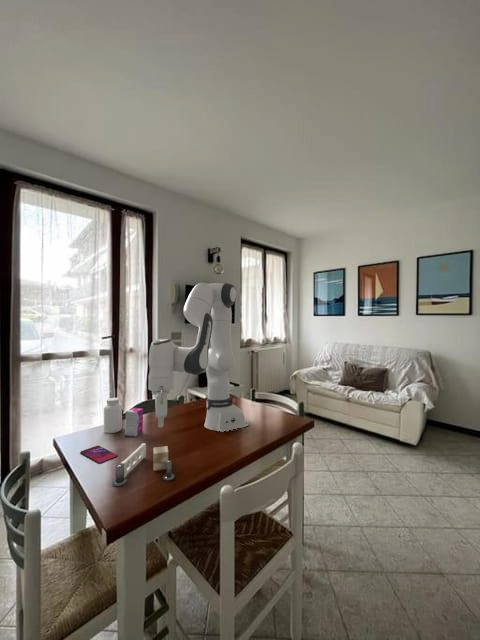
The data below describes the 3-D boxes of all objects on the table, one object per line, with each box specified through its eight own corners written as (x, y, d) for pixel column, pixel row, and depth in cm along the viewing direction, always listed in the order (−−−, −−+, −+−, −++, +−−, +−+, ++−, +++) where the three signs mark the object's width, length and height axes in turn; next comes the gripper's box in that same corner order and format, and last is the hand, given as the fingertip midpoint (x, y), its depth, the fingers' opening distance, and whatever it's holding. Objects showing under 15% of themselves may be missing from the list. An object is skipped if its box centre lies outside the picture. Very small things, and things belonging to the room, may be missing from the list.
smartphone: (99, 463, 103) (79, 451, 112) (99, 465, 103) (79, 454, 112) (118, 455, 109) (98, 444, 118) (118, 457, 109) (98, 447, 118)
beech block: (167, 462, 105) (167, 445, 105) (168, 468, 100) (168, 451, 100) (153, 463, 104) (153, 447, 104) (153, 470, 99) (153, 453, 99)
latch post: (174, 474, 97) (174, 458, 97) (174, 479, 93) (174, 463, 93) (163, 475, 96) (163, 459, 96) (163, 481, 92) (163, 464, 92)
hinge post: (127, 477, 94) (127, 461, 94) (126, 485, 90) (126, 468, 90) (113, 480, 93) (113, 463, 93) (111, 487, 89) (111, 470, 89)
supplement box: (136, 437, 127) (136, 412, 127) (124, 436, 128) (124, 411, 128) (143, 432, 133) (143, 408, 133) (131, 431, 134) (132, 407, 134)
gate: (124, 477, 93) (124, 463, 93) (120, 477, 93) (120, 463, 93) (145, 456, 108) (145, 443, 108) (142, 455, 108) (142, 443, 108)
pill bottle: (107, 427, 139) (107, 397, 139) (124, 427, 139) (124, 396, 139) (100, 433, 131) (101, 401, 131) (118, 433, 131) (118, 401, 131)
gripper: (171, 390, 93) (171, 431, 93) (168, 378, 113) (168, 412, 112) (151, 391, 91) (151, 433, 91) (152, 378, 111) (151, 413, 111)
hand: (160, 422), depth 102 cm, fingers open, 8 cm apart
